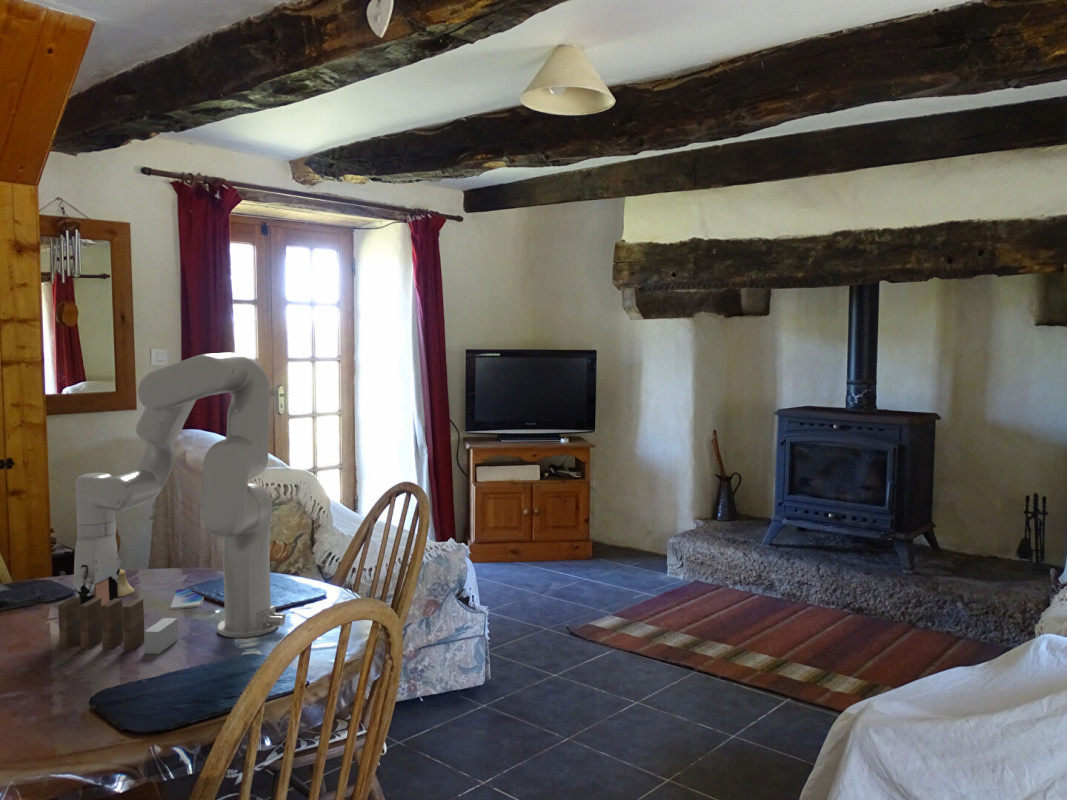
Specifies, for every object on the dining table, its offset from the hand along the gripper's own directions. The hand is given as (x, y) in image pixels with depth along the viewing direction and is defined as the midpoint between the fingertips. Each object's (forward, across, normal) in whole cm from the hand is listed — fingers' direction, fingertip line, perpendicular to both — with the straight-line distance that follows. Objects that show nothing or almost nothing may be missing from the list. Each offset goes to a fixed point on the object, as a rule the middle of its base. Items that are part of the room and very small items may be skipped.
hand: (99, 606), depth 189 cm
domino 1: (+4, +14, +2) cm, 14 cm away
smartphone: (+4, -17, +12) cm, 21 cm away
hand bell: (+4, -20, -8) cm, 22 cm away
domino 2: (+4, 0, 0) cm, 4 cm away
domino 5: (+3, +14, +15) cm, 21 cm away
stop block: (+3, +14, +21) cm, 25 cm away
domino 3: (+3, +14, +6) cm, 16 cm away
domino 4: (+3, +14, +11) cm, 18 cm away
